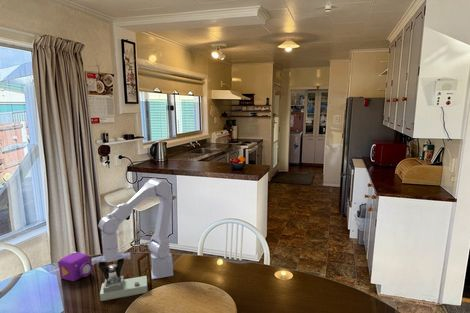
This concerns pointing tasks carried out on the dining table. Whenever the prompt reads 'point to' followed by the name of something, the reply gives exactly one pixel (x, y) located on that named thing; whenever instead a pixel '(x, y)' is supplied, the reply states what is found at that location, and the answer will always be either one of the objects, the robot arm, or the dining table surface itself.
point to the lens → (112, 273)
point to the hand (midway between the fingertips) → (113, 277)
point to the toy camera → (75, 266)
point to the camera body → (123, 288)
